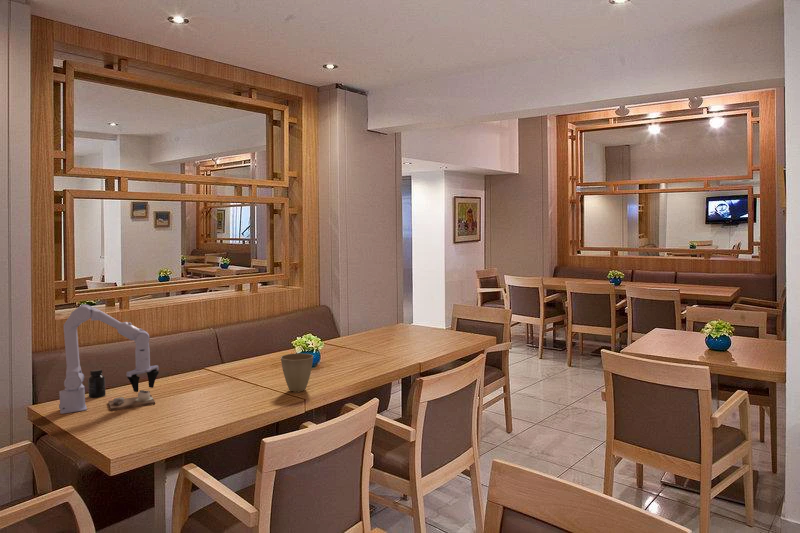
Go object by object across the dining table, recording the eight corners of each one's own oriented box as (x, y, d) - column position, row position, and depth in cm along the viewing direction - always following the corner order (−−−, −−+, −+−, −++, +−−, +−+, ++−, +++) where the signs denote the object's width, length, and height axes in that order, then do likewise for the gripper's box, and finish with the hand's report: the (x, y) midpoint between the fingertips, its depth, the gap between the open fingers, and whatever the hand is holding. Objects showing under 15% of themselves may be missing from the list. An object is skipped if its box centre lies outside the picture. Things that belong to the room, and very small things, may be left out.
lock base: (111, 410, 231) (110, 403, 231) (108, 403, 242) (108, 396, 242) (155, 404, 240) (154, 397, 240) (150, 396, 251) (150, 390, 251)
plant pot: (292, 396, 249) (291, 361, 248) (275, 390, 260) (274, 356, 259) (320, 390, 258) (319, 356, 258) (303, 384, 270) (302, 351, 269)
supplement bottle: (108, 395, 254) (107, 370, 253) (91, 399, 249) (90, 372, 248) (102, 393, 259) (101, 367, 258) (86, 396, 254) (85, 370, 253)
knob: (135, 399, 243) (135, 391, 243) (144, 397, 247) (144, 389, 247) (143, 401, 241) (143, 392, 241) (152, 398, 245) (152, 390, 245)
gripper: (133, 362, 235) (134, 394, 235) (163, 356, 247) (163, 386, 248) (123, 361, 238) (124, 392, 239) (152, 355, 251) (153, 384, 251)
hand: (143, 389), depth 244 cm, fingers open, 7 cm apart
